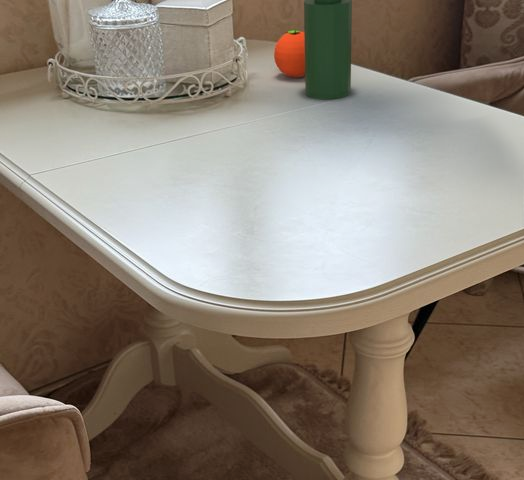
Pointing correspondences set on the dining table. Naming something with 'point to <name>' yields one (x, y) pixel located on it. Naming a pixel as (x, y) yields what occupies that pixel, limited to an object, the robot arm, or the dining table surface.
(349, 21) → the bottle
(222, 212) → the dining table surface
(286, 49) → the clementine
